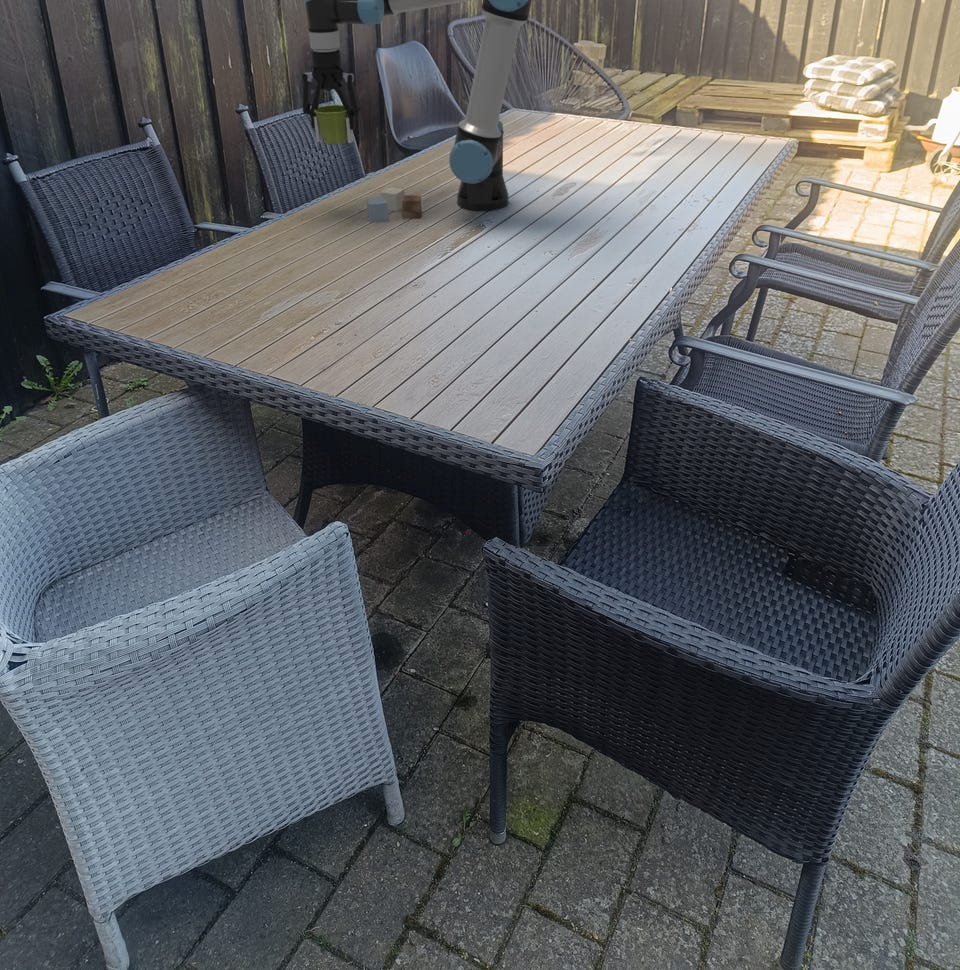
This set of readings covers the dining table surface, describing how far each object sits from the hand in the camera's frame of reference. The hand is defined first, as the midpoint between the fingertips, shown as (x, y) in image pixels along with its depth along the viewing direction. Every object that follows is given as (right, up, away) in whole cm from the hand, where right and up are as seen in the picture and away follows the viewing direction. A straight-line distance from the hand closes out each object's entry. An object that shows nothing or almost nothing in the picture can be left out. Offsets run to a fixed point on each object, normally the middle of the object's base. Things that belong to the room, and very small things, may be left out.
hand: (335, 141), depth 231 cm
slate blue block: (+11, -20, +6) cm, 23 cm away
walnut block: (+21, -18, +8) cm, 29 cm away
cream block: (+15, -14, +13) cm, 24 cm away
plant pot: (0, 0, 0) cm, 0 cm away
